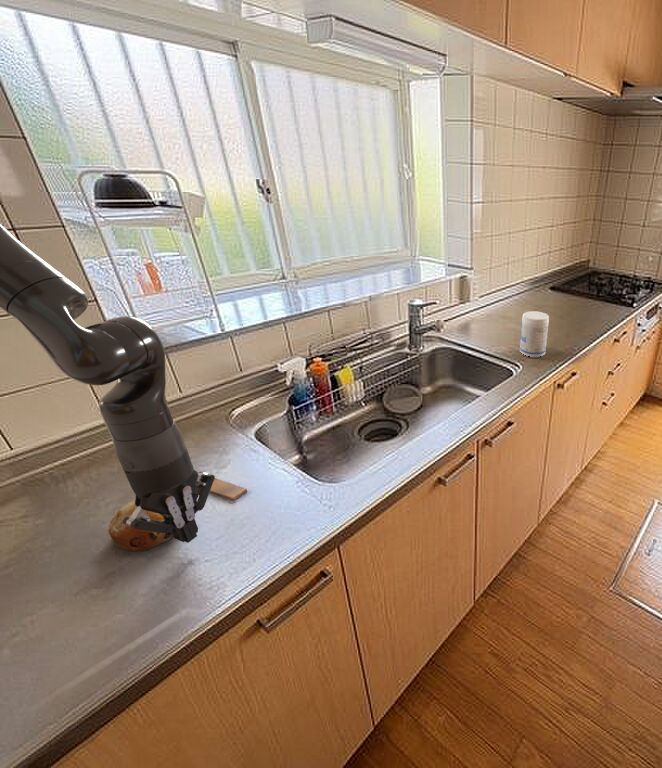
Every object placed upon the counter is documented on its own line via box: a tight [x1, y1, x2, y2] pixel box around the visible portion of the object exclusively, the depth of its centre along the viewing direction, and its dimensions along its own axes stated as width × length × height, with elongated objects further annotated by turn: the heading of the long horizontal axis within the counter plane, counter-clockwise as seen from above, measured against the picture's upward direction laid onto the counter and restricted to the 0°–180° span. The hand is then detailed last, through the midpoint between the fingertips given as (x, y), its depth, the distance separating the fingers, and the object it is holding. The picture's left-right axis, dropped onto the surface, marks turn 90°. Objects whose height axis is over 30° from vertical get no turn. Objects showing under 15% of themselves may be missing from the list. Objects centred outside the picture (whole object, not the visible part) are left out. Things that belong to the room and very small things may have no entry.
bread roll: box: [107, 499, 174, 552], centre depth 72 cm, size 10×10×8 cm
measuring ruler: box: [209, 477, 248, 502], centre depth 85 cm, size 24×3×1 cm, turn 71°
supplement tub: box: [519, 310, 550, 359], centre depth 150 cm, size 10×10×15 cm
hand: (188, 538), depth 69 cm, fingers closed
